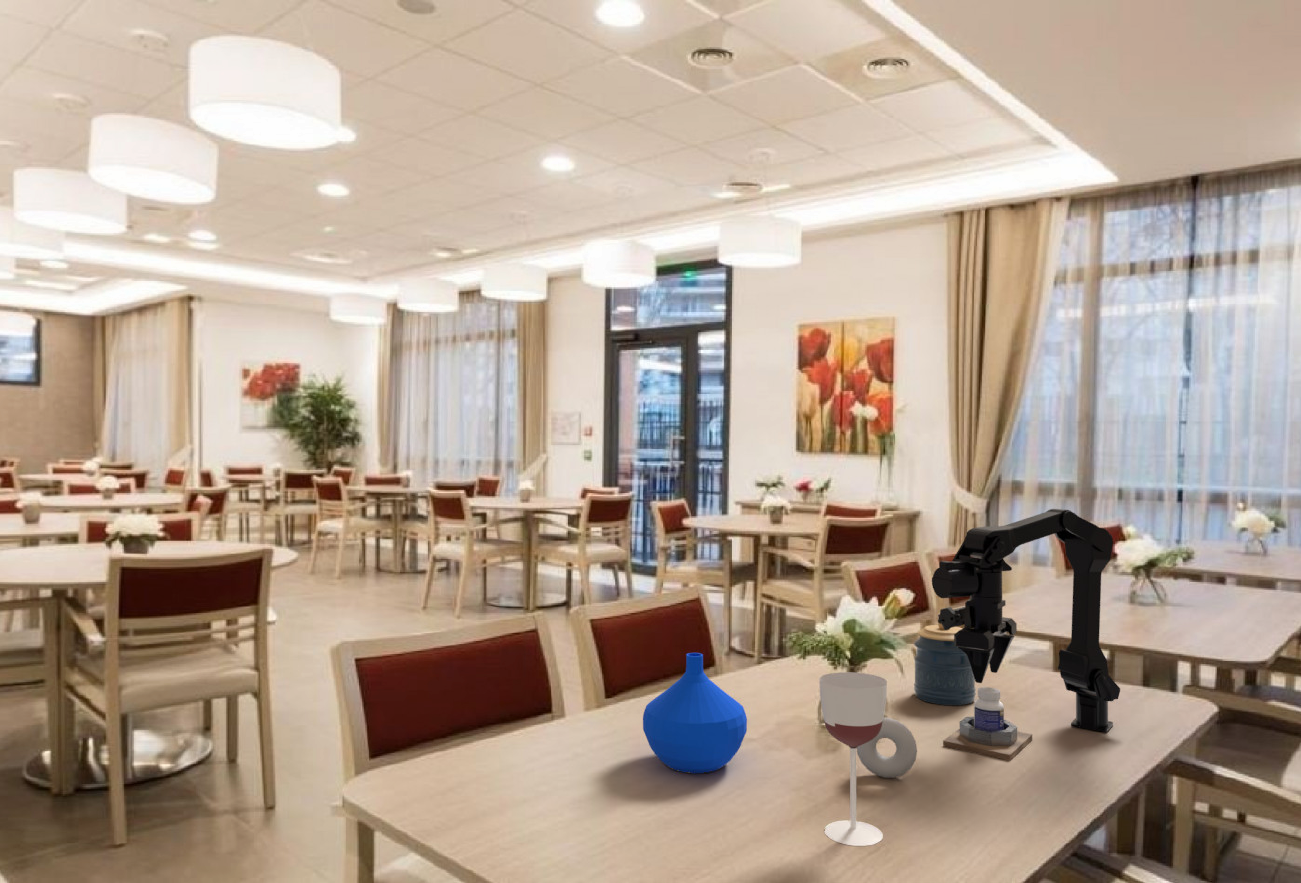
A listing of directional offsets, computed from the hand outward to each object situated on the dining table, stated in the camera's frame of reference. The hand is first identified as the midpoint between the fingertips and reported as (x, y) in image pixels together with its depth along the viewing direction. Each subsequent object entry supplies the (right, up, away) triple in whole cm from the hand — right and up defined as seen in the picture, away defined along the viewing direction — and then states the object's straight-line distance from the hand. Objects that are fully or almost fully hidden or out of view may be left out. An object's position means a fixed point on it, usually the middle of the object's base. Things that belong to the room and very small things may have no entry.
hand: (986, 677), depth 164 cm
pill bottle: (0, -11, -1) cm, 11 cm away
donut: (-24, -12, -18) cm, 32 cm away
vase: (-56, -12, -12) cm, 58 cm away
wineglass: (-34, -12, -39) cm, 53 cm away
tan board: (0, -12, -1) cm, 12 cm away
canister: (+2, -12, +28) cm, 31 cm away
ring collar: (0, -12, -1) cm, 12 cm away
